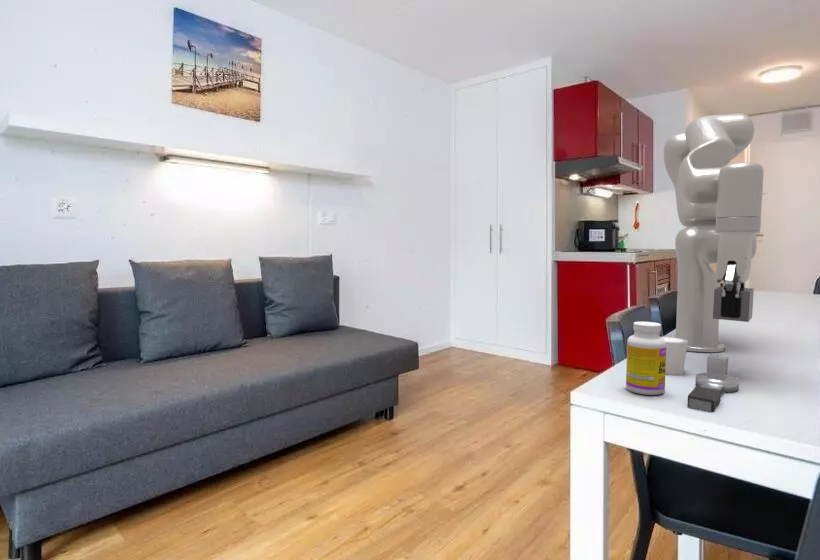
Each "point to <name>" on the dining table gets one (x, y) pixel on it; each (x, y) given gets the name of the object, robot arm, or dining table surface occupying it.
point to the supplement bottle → (646, 359)
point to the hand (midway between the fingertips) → (732, 314)
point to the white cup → (675, 355)
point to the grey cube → (745, 308)
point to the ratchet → (712, 385)
